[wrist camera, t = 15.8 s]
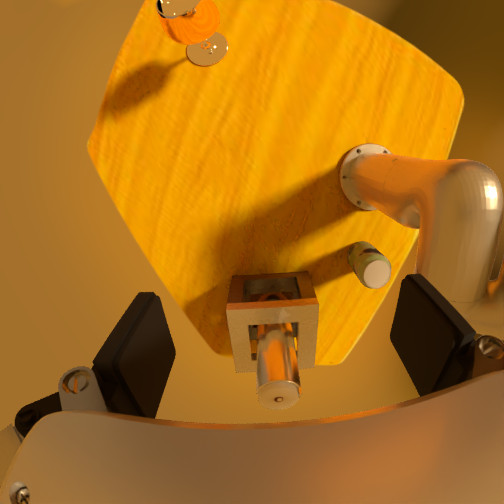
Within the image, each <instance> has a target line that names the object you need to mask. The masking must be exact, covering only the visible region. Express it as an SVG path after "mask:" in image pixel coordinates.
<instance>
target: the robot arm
mask: <svg viewBox="0 0 504 504" xmlns="http://www.w3.org/2000/svg"><path fill="white" fill-rule="evenodd" d="M357 150H358V152H356V151H357ZM383 151H384V153H383ZM343 176H345V178H343ZM340 184H341V188H342V190H343V192H344V194H345V196H346V197H347V198H348V200H349V201H350V202H352V203H353V204H354V205H355V206H357V207H359V208H361V209H365V210H377V209H378V210H379V211H381V212H383V213H384V214H386V215H387V216H389V217H390V218H392V219H394V220H395V221H397V222H398V223H400V224H402V225H403V226H406V227H408V228H413V229H420V230H419V242H418V249H417V256H416V263H415V269H414V274H409V275H407V276H406V277H405V279H403V280H402V282H401V288H400V293H399V298H398V303H397V308H396V312H395V316H394V320H393V324H392V328H391V332H390V339H391V342H392V344H393V346H394V347H395V349H396V351H397V353H398V355H399V357H400V359H401V360H402V362H403V364H404V366H405V368H406V370H407V372H408V374H409V376H410V377H411V379H412V381H413V383H414V385H415V387H416V389H417V391H418V393H419V395H420V397H418V398H415V399H412V400H408V401H405V402H401V403H397V404H393V405H389V406H385V407H381V408H377V409H372V410H368V411H362V412H358V413H352V414H346V415H341V416H335V417H328V418H320V419H312V420H303V421H293V422H280V423H258V424H215V423H196V422H182V421H172V420H162V419H155V417H156V414H157V410H158V407H159V404H160V401H161V398H162V395H163V392H164V389H165V386H166V383H167V380H168V377H169V373H170V371H171V368H172V365H173V362H174V359H175V355H176V353H175V352H176V351H175V347H174V344H173V341H172V337H171V334H170V331H169V328H168V324H167V321H166V318H165V314H164V311H163V307H162V303H161V300H160V297H159V296H156V295H155V293H154V292H140V293H138V295H137V296H136V297H135V299H134V300H133V302H132V303H131V304H130V306H129V307H128V309H127V310H126V311H125V313H124V314H123V316H122V317H121V319H120V320H119V322H118V323H117V325H116V326H115V328H114V329H113V331H112V332H111V334H110V335H109V337H108V338H107V340H106V341H105V343H104V345H103V346H102V348H101V349H100V351H99V352H98V354H97V355H96V357H95V358H94V360H93V364H94V365H93V367H92V369H90V368H88V367H84V366H80V367H75V368H72V369H70V370H68V371H67V372H66V373H64V374H63V376H62V377H61V378H60V381H59V384H58V389H59V392H57V393H55V394H52V395H50V396H47V397H45V398H43V399H40V400H38V401H35V402H33V403H31V404H28V405H26V406H24V407H23V408H21V410H20V411H19V412H18V413H17V415H16V418H15V426H13V425H12V424H10V425H9V426H7V427H6V428H5V429H4V430H2V431H1V432H0V504H504V343H503V342H502V341H501V340H504V258H503V262H502V266H501V270H500V273H499V276H498V278H497V279H496V280H492V281H489V279H490V275H491V271H492V267H493V263H494V259H495V257H496V253H497V248H498V243H499V237H500V232H501V225H502V219H503V194H502V189H501V185H500V182H499V180H498V178H497V176H496V175H495V173H494V172H493V171H492V170H491V169H490V168H488V167H487V166H486V165H484V164H482V163H479V162H476V161H472V160H466V159H451V160H427V159H419V158H413V157H407V156H400V155H393V154H392V153H391V152H390V151H389V150H388V149H386V148H384V147H383V146H380V145H378V144H361V145H359V146H356V147H355V148H353V149H352V150H351V151H350V152H349V153H348V154H347V155H346V156H345V158H344V160H343V162H342V164H341V168H340ZM357 201H358V203H357ZM476 333H478V334H482V335H483V336H481V337H479V338H478V339H477V340H476V341H475V340H474V336H475V334H476ZM500 339H501V340H500Z"/></svg>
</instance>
